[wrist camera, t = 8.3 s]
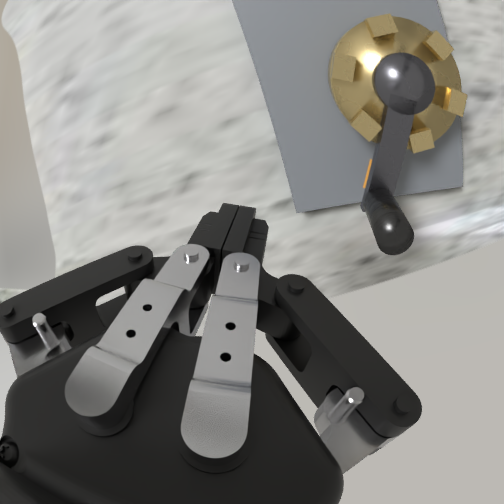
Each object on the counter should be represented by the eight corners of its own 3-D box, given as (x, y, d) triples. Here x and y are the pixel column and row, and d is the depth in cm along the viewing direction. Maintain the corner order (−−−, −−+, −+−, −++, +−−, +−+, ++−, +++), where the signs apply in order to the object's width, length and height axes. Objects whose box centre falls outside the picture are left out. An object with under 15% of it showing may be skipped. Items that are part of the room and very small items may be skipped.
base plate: (418, -29, 13) (425, -33, 12) (456, 180, 23) (463, 187, 22) (232, -6, 17) (227, -10, 16) (296, 205, 28) (296, 213, 26)
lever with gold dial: (335, 6, 16) (355, -23, 9) (454, 45, 15) (516, 47, 8) (308, 186, 25) (312, 242, 18) (416, 207, 24) (451, 265, 17)
